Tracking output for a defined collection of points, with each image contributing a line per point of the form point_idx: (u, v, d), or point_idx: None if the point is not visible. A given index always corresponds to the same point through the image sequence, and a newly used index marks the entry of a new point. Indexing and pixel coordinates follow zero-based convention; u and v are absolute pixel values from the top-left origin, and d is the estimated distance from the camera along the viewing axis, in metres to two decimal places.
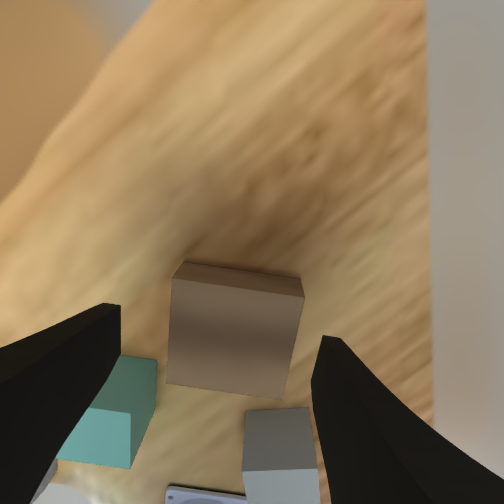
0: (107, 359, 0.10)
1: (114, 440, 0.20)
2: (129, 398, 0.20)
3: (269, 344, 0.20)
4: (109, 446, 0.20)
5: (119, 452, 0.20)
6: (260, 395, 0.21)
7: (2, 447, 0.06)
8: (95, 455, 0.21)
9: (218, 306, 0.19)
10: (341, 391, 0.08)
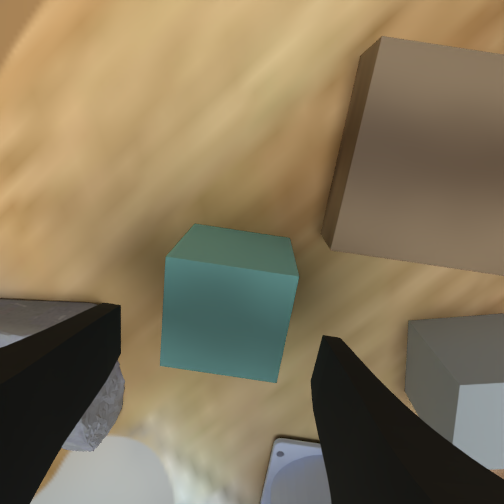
0: (107, 359, 0.10)
1: (261, 329, 0.12)
2: (283, 263, 0.13)
3: None
4: (251, 340, 0.13)
5: (264, 352, 0.13)
6: (476, 270, 0.14)
7: (2, 447, 0.06)
8: (224, 358, 0.13)
9: (451, 93, 0.11)
10: (341, 391, 0.08)
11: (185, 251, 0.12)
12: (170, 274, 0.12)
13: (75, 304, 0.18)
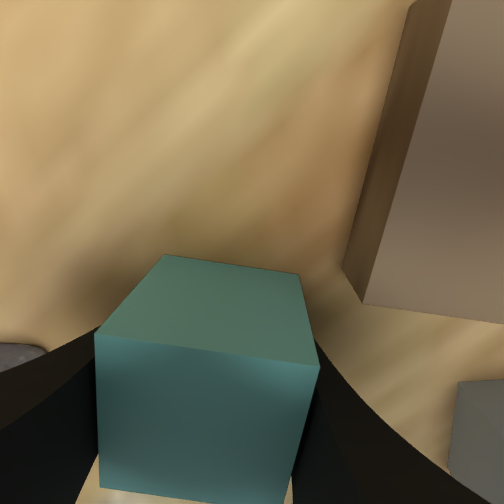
0: None
1: (256, 442, 0.08)
2: (292, 334, 0.08)
3: None
4: (241, 457, 0.08)
5: (262, 474, 0.08)
6: None
7: (53, 454, 0.06)
8: (198, 480, 0.08)
9: None
10: None
11: (133, 317, 0.08)
12: (104, 360, 0.07)
13: (2, 348, 0.13)
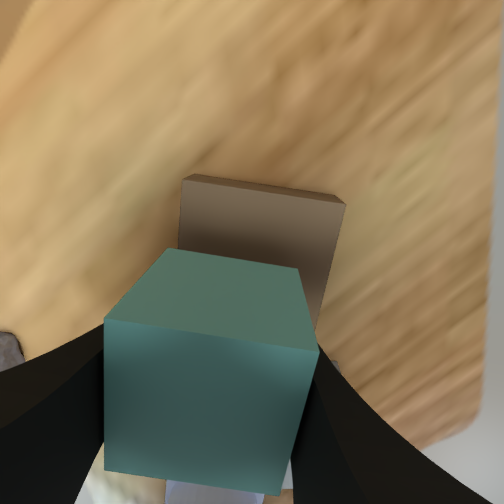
0: None
1: (257, 425, 0.08)
2: (292, 322, 0.08)
3: (299, 269, 0.16)
4: (242, 440, 0.08)
5: (262, 457, 0.08)
6: None
7: (52, 454, 0.06)
8: (200, 463, 0.09)
9: (239, 217, 0.15)
10: None
11: (140, 304, 0.08)
12: (113, 344, 0.07)
13: None
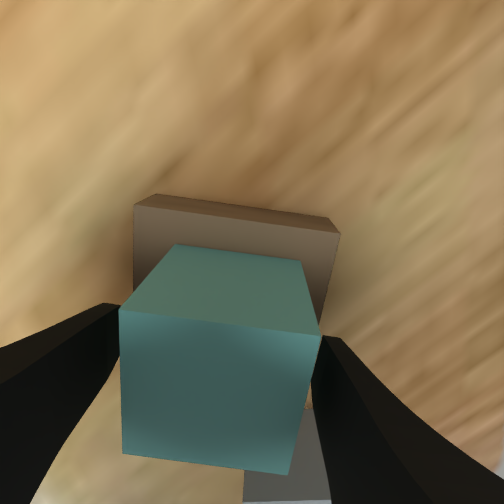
0: (107, 359, 0.10)
1: (264, 407, 0.08)
2: (295, 310, 0.09)
3: None
4: (251, 422, 0.09)
5: (270, 438, 0.09)
6: None
7: (2, 447, 0.06)
8: (212, 445, 0.09)
9: None
10: (341, 391, 0.08)
11: (151, 296, 0.08)
12: (127, 334, 0.08)
13: None
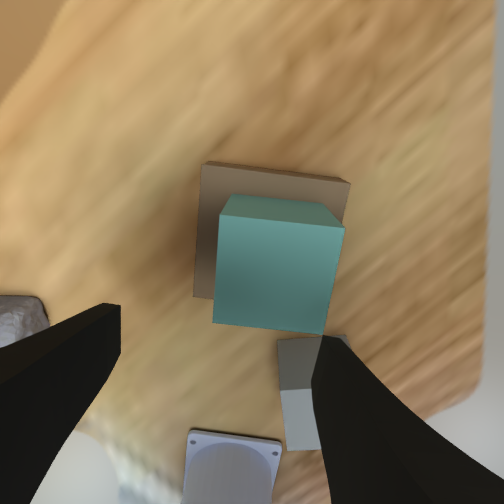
0: (107, 359, 0.10)
1: (308, 282, 0.13)
2: (326, 220, 0.13)
3: None
4: (299, 293, 0.13)
5: (312, 305, 0.14)
6: None
7: (2, 447, 0.06)
8: (273, 313, 0.14)
9: None
10: (341, 391, 0.08)
11: (234, 211, 0.13)
12: (223, 232, 0.13)
13: (15, 297, 0.22)
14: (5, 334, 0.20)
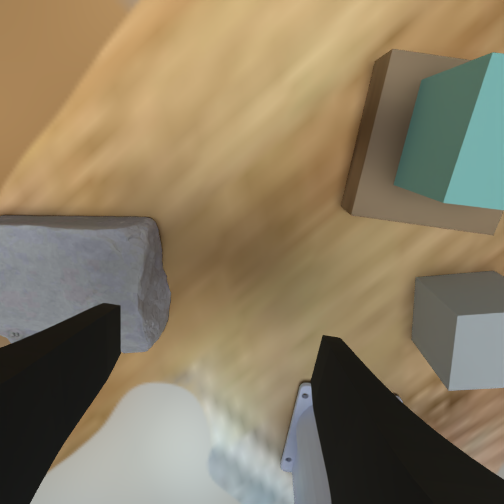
0: (107, 359, 0.10)
1: None
2: None
3: None
4: None
5: None
6: (465, 230, 0.17)
7: (2, 447, 0.06)
8: None
9: None
10: (341, 391, 0.08)
11: None
12: (491, 77, 0.10)
13: (130, 217, 0.20)
14: (135, 248, 0.18)
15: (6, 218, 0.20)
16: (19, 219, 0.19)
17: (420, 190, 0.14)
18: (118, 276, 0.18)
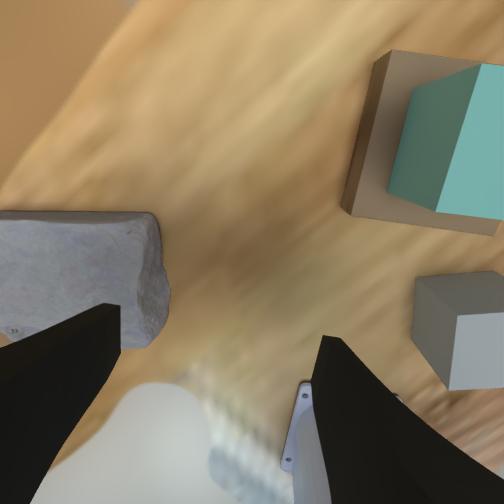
0: (107, 359, 0.10)
1: None
2: None
3: None
4: None
5: None
6: (465, 231, 0.17)
7: (2, 447, 0.06)
8: None
9: None
10: (341, 391, 0.08)
11: None
12: (480, 87, 0.11)
13: (129, 212, 0.20)
14: (134, 242, 0.18)
15: (5, 213, 0.19)
16: (18, 214, 0.19)
17: (413, 198, 0.14)
18: (118, 271, 0.17)
